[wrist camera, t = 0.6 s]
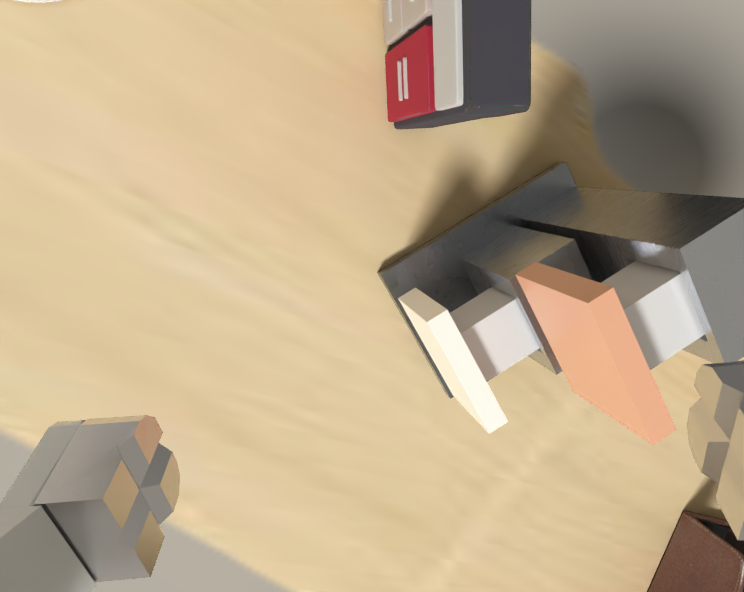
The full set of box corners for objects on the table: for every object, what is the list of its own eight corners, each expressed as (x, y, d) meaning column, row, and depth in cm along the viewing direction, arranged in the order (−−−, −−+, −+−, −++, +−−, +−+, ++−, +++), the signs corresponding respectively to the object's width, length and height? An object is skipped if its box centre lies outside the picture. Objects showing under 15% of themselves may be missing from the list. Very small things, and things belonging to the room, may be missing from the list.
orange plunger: (515, 274, 37) (587, 303, 29) (616, 211, 37) (713, 223, 30) (572, 390, 39) (652, 445, 32) (666, 330, 40) (767, 369, 32)
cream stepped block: (397, 298, 44) (426, 322, 37) (484, 245, 45) (528, 259, 38) (452, 395, 47) (489, 433, 40) (534, 343, 47) (583, 373, 41)
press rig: (377, 272, 47) (462, 337, 29) (559, 162, 48) (745, 160, 31) (446, 394, 50) (559, 518, 33) (614, 287, 52) (810, 351, 34)
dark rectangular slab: (376, -33, 42) (447, -133, 28) (435, -32, 43) (533, -130, 29) (383, 130, 45) (452, 114, 31) (439, 127, 46) (532, 111, 31)
